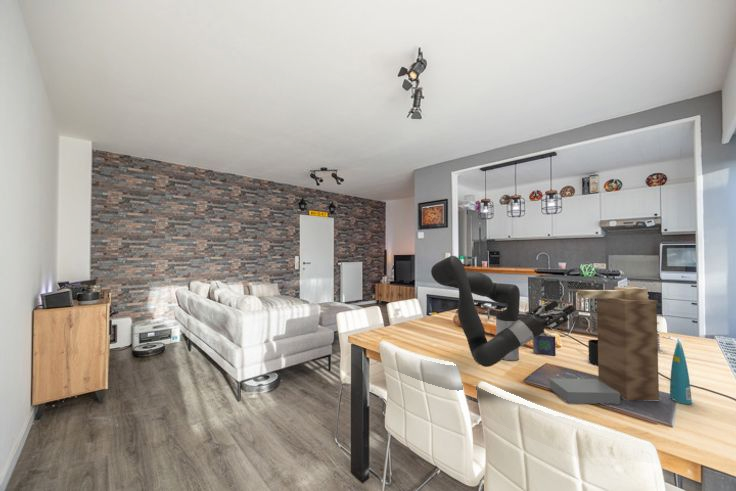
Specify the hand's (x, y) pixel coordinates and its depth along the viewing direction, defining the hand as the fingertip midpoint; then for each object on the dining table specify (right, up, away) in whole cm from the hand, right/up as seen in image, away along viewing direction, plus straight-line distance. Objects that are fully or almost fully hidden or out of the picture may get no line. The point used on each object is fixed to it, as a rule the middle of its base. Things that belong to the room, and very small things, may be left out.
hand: (564, 305), depth 101 cm
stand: (+20, -30, -1) cm, 36 cm away
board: (+3, -29, -4) cm, 30 cm away
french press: (+69, -31, +42) cm, 86 cm away
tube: (+32, -30, -7) cm, 45 cm away
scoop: (+15, +2, 0) cm, 16 cm away
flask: (+15, -31, +37) cm, 50 cm away
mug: (+34, -30, +25) cm, 52 cm away
